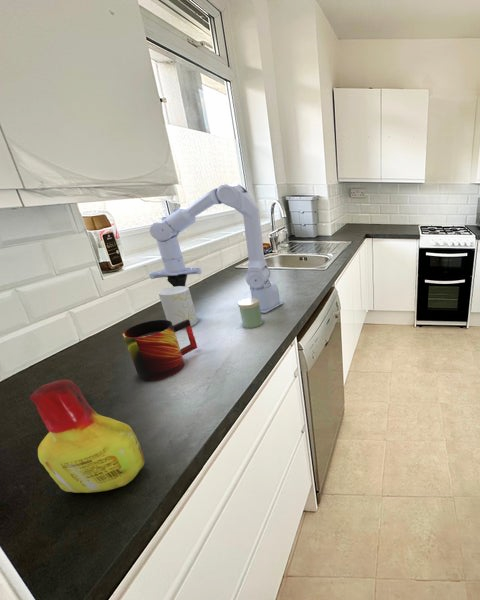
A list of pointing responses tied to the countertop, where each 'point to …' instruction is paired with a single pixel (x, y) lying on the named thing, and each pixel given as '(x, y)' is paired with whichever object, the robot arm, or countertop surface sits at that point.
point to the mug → (157, 348)
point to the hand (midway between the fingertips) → (182, 295)
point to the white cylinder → (178, 305)
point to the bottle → (84, 442)
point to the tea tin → (250, 312)
